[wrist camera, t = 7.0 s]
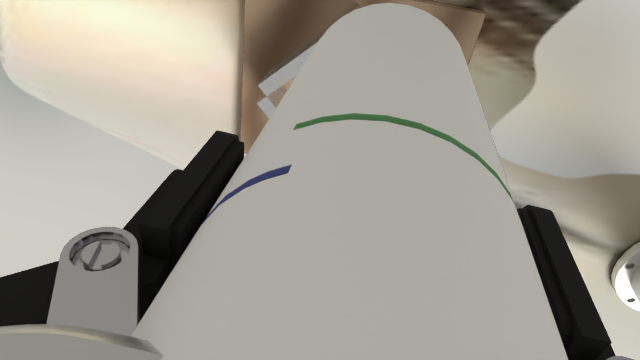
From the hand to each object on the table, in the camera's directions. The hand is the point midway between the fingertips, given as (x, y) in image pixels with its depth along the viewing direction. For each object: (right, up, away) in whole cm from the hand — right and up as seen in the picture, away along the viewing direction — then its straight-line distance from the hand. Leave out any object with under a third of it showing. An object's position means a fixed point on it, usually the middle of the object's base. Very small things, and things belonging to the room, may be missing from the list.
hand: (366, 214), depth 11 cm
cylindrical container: (+2, +5, +8) cm, 10 cm away
